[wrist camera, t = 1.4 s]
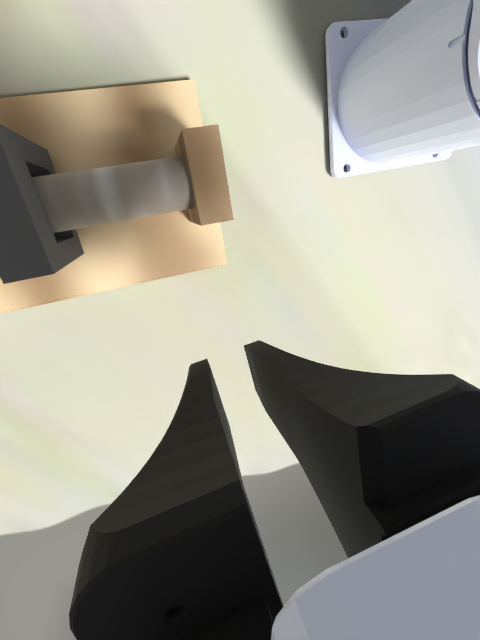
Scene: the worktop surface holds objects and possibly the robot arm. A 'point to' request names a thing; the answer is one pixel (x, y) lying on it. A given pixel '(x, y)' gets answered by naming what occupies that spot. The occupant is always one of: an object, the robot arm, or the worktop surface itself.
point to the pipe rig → (123, 186)
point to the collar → (28, 214)
